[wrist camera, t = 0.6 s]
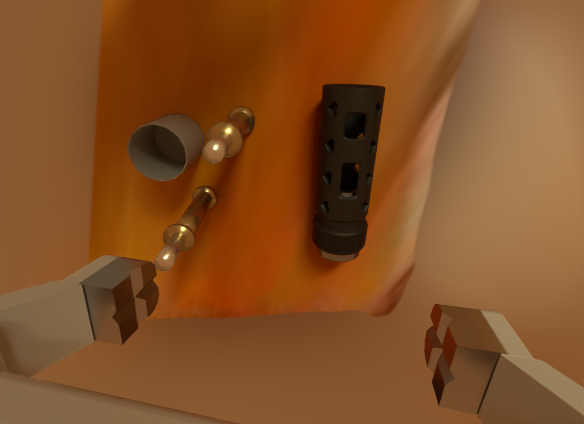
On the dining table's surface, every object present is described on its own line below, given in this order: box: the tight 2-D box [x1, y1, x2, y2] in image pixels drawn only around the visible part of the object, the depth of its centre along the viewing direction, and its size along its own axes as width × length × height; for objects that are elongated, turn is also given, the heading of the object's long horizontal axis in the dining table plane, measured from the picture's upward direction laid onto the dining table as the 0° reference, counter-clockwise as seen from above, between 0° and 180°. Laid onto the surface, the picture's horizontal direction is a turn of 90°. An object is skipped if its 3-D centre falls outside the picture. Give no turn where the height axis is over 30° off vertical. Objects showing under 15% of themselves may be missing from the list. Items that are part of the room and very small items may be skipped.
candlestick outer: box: [154, 186, 217, 271], centre depth 48 cm, size 4×4×22 cm
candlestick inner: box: [202, 106, 255, 164], centre depth 42 cm, size 4×4×22 cm
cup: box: [127, 113, 204, 181], centre depth 48 cm, size 8×8×10 cm
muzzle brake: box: [312, 84, 385, 262], centre depth 51 cm, size 10×28×10 cm, turn 179°
